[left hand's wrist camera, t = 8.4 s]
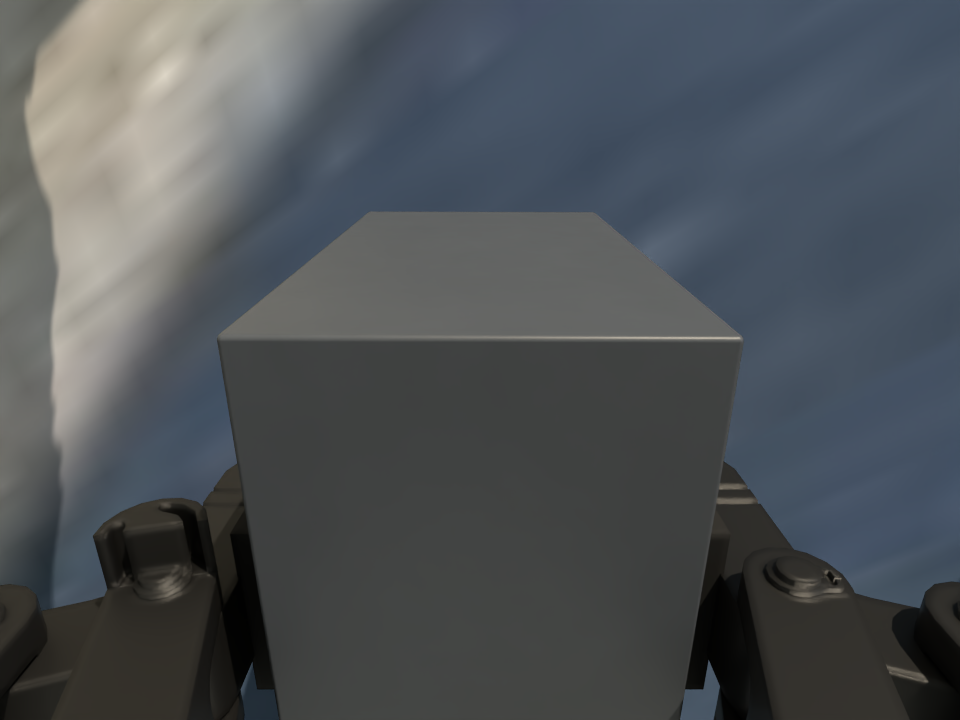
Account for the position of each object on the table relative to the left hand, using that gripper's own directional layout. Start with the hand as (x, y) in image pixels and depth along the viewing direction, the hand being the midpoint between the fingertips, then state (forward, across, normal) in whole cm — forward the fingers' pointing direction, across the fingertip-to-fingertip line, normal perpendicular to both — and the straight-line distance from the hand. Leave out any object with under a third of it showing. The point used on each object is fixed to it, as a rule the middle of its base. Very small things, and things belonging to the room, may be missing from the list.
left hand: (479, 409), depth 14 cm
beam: (+1, 0, -30) cm, 30 cm away
